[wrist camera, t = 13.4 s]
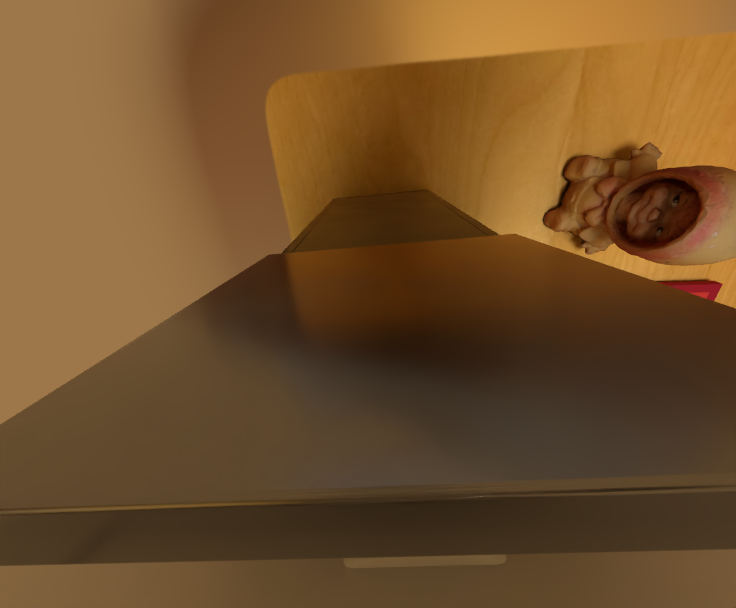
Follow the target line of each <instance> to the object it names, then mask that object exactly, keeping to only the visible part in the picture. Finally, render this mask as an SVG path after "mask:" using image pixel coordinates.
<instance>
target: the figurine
mask: <svg viewBox="0 0 736 608" xmlns="http://www.w3.org/2000/svg"><path fill="white" fill-rule="evenodd" d="M661 154H662V153H661V152H660V151H659V149H658V148H657V147H656V146H654V145H653V144H651V143H647V144H645V145H644V146H643V147H642V148H641V149H633V150H632V151H631V158H630V159H629V160H627V161H625V160H622V159H601V158H599V157H593V156H589V155H584V156H580V157H576V158H574V159H573V160H571V161H570V163H569V164H567V165H566V166H565V169H564V176H565V179H566V180H567V181H569V182H570V183H569V185H568V186H567V188H566V191H565V192H564V193H563V197H562V201H561V203H560V204H559V207H558V208H557V209H555V210H553V211H549V212H547V213H545V215H544V218H543V221H544V223H545V224H546V225H547V226H548V227H550V228H551V229H552V230H554V231H555V232H560V231H562V232H568V231H569V232H571V233H573V234H575V235H578V236H579V237H580V238H581V239H582V242H581V247H584V248H585V253H586V254H593V253H596V252H599V251H605V250H606V249H607V248H608V246H609V245H611V244H613V243H615V244H616V245H617V246H618V247H619V248H620V249H622V250H624V251H626V252H627V253H629V254H631V255H636V256H639V257H641V258H644V259H646V260H649V261H652V262H656V263H660V264H665V265H681V266H685V265H704V264H711V263H717V262H722V261H725V260H729V259H733V258H736V171H734V170H731V169H728V168H724V167H714V166H692V167H678V168H667V169H661V170H657V159H658V158H660V156H661Z"/></svg>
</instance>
